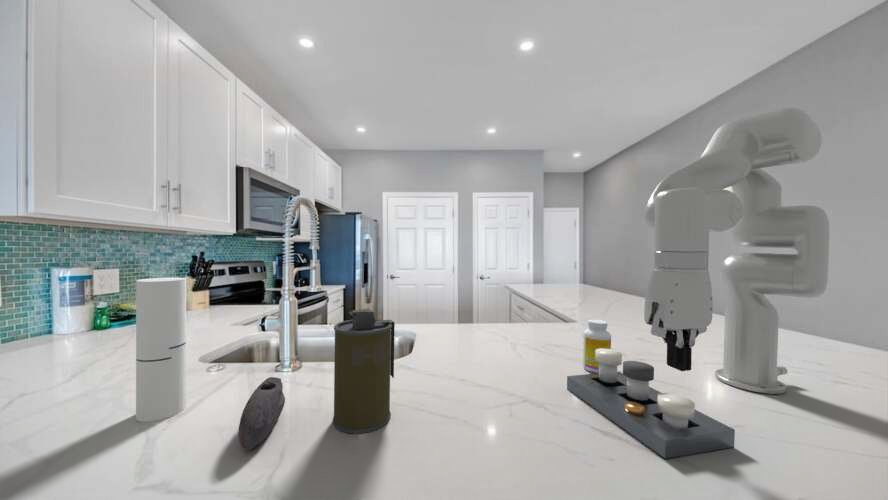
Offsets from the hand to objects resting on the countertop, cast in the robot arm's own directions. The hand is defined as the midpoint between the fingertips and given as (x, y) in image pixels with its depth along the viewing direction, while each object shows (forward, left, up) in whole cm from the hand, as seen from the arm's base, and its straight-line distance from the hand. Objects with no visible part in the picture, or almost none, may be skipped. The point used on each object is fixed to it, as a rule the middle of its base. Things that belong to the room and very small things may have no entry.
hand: (678, 367), depth 57 cm
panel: (+1, -8, -12) cm, 14 cm away
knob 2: (+1, 0, -11) cm, 11 cm away
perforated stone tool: (+70, -16, -12) cm, 73 cm away
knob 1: (+1, -16, -8) cm, 18 cm away
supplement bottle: (-7, -29, -12) cm, 32 cm away
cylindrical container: (+90, -27, -12) cm, 95 cm away
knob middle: (+1, -8, -8) cm, 11 cm away
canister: (+53, -17, -12) cm, 57 cm away
